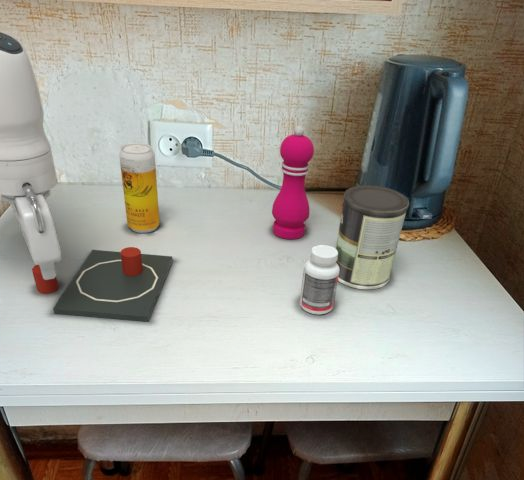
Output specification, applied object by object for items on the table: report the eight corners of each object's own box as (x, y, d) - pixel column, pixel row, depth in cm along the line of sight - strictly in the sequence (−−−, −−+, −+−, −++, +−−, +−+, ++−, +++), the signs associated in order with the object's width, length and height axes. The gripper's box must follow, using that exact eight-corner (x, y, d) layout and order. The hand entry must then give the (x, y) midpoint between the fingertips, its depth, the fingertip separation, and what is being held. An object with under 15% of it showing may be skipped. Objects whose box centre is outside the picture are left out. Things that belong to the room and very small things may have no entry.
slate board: (54, 313, 75) (52, 307, 74) (93, 254, 89) (92, 249, 88) (148, 321, 75) (147, 315, 74) (172, 261, 89) (172, 255, 88)
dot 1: (33, 292, 79) (28, 272, 77) (42, 281, 81) (36, 262, 79) (54, 294, 79) (49, 274, 77) (61, 283, 81) (57, 263, 79)
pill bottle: (338, 313, 80) (348, 258, 73) (305, 317, 78) (313, 261, 72) (325, 294, 84) (334, 241, 77) (294, 298, 82) (301, 243, 76)
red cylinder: (120, 274, 83) (117, 255, 80) (126, 265, 85) (124, 245, 83) (139, 277, 82) (137, 257, 80) (145, 267, 85) (143, 248, 83)
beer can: (121, 229, 97) (111, 149, 88) (140, 217, 101) (132, 139, 92) (147, 237, 95) (140, 156, 86) (166, 224, 100) (160, 146, 90)
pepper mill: (300, 244, 97) (313, 135, 84) (265, 235, 98) (272, 127, 86) (311, 228, 102) (325, 124, 89) (277, 221, 104) (286, 117, 91)
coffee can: (321, 277, 88) (333, 199, 79) (344, 254, 95) (358, 179, 86) (377, 297, 84) (397, 217, 75) (397, 271, 91) (417, 195, 82)
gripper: (61, 197, 63) (80, 291, 72) (32, 146, 77) (51, 230, 85) (6, 205, 60) (33, 301, 69) (-14, 150, 74) (10, 237, 83)
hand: (43, 262), depth 77 cm, fingers open, 8 cm apart
